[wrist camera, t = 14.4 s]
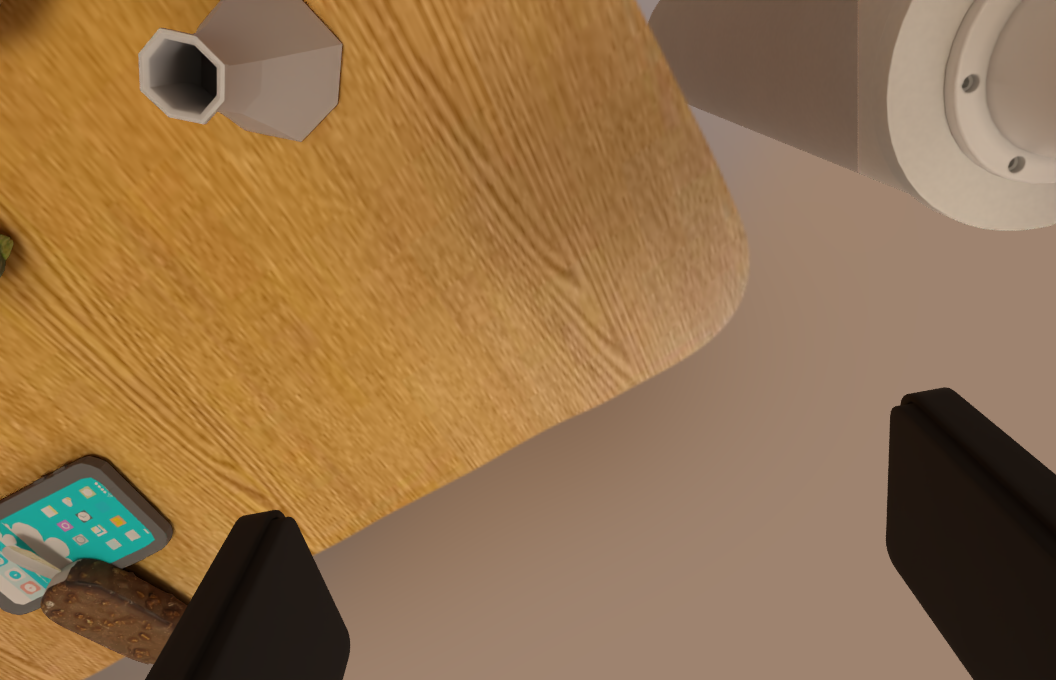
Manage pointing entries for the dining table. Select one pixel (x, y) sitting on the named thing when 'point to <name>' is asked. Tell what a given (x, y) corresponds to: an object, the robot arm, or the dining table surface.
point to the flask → (247, 68)
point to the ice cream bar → (105, 604)
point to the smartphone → (74, 527)
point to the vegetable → (4, 251)
